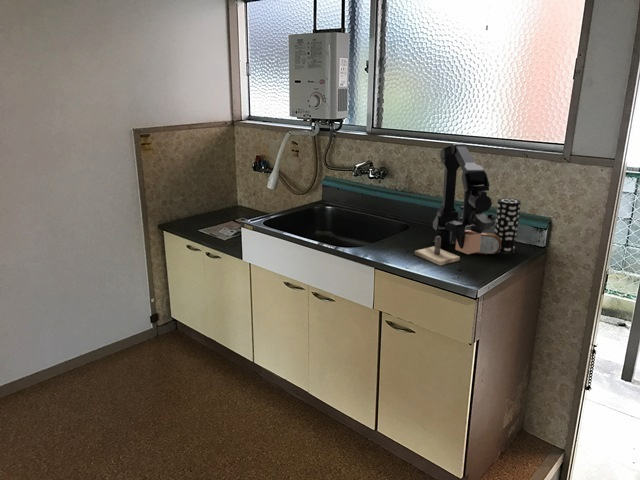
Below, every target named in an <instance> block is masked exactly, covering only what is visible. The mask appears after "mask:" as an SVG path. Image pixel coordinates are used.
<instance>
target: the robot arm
mask: <svg viewBox="0 0 640 480" xmlns="http://www.w3.org/2000/svg"><path fill="white" fill-rule="evenodd" d="M439 157H440V163H441V165H442V167H443V169H444V176H443V188H442V200H441V201H442V202H441V206H440V207H439V208H438V210H437V211H436V216H435V218H434V220H433V222H432V229H434V230H435V233H434V236H435V237H436V236H440V237H441V247H447V246H450V245H456V242H454V241H453V235H454V237H455V240H456V239H457V242H458V244H459V247H460V248H461V249H463V246H464V239H465V235H466V234H467V233H468V232H466V231H465V230H467V228H469V227H470V230H471V231H474V232H477V233H480V234H481V233H482V232H485V231H486V230H490V229H491V227H495V223H496V215H495V214H494V213H490V214H484V213H485V212H487V211H489V210H490V209H491V207H492V204H493V202H492V199H491V197H490V196H488V191H490V183H489V177H488V175H487V172H486V171H485V169H484V168H483V167H482V165H479V164H478V163H476V161H474V158H473V157H472V155H471V153H470V151H469V149H468V144H466V143H453V144H451V145H449V146H444V147H443V148H442V149H441V150H440V152H439ZM459 168H460V169H461V171H462V172H461V173H462V174H461V181H462V182H461V183H462V185H463V190H464V191H463V200H462V201H463V204H462V206H460V207H459V210H460V211H462V213H461V217H459V212H458V211H457V209H456V208H455V199H456V188H457V187H456V186H457V185H456V184H457V173H458V169H459ZM460 221H461V222H460ZM435 237H434V238H435ZM433 243H434V244H435V240H432V244H433Z"/></svg>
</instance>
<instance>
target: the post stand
mask: <svg viewBox="0 0 640 480" xmlns="http://www.w3.org/2000/svg"><path fill="white" fill-rule="evenodd" d="M434 241H435V243H434V246H433V245H432V246H430V247H424V248H422V249H421V248H420V249H417V250H414V255H415V256H417V257H420V258H422V259H424V260H427V261H429V262H431V263H434V264H435V265H438V266H443V265H447V264H451V263H456V262H458V261H460V260H461V256H459V255H457V254H454V253H451V252H449V251H448V250H447V251H446V250H444V249H442V248H441V247H442V246H441V237H440V236H436V237H434Z"/></svg>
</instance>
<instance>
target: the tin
mask: <svg viewBox="0 0 640 480" xmlns="http://www.w3.org/2000/svg"><path fill="white" fill-rule="evenodd" d="M500 248H501V239H500V238H499V236H497V235H496V234H494V233H493V232H485V231H483V232H482V233H481V244H480V251H479V252H475V253H474V254H479V255H487V254H493V255H495V254H497V253H499V252H498V251H499V250H500Z"/></svg>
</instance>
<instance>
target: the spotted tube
mask: <svg viewBox="0 0 640 480" xmlns="http://www.w3.org/2000/svg"><path fill="white" fill-rule="evenodd" d="M521 203H522V202H521V200H519V199H515V198H507V197H505V198H504V197H503V198H499V199H497V206H496V215H495V224H494V233H493V234H496V235H497V236H499V238H500V239H501V248H500V250H499V252H512V251H514V250H516V244H517V234H518V229H519V219H520V213H521ZM499 252H498V253H499ZM514 252H515V251H514Z"/></svg>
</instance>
